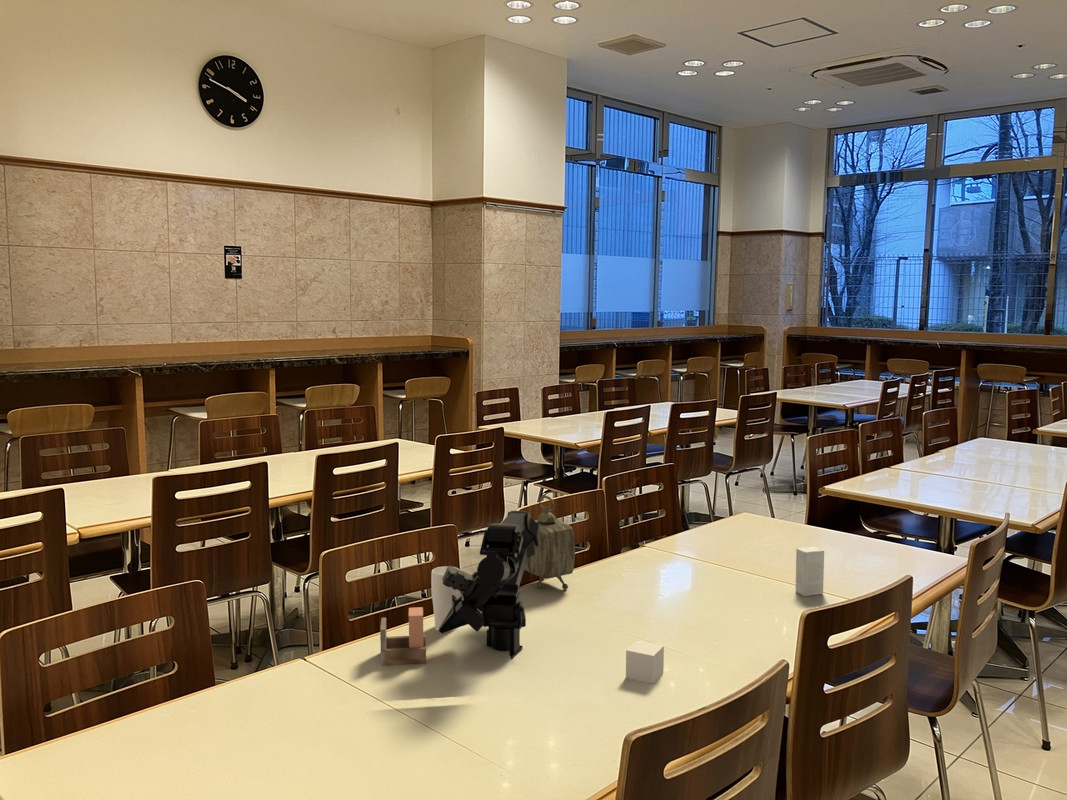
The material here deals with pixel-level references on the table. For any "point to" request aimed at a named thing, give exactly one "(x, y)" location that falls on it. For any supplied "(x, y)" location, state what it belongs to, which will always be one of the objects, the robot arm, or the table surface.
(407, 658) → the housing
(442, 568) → the drinking glass
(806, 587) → the skincare box
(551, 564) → the tabletop clock
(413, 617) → the salmon pink block
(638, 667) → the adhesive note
